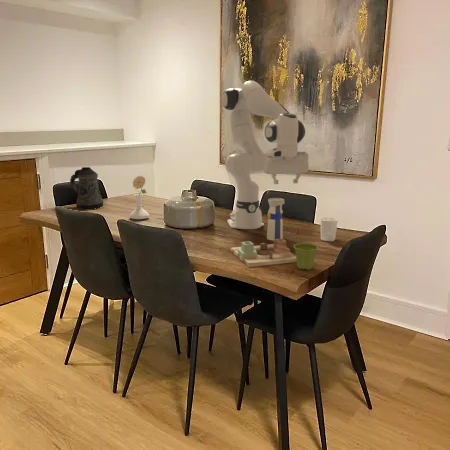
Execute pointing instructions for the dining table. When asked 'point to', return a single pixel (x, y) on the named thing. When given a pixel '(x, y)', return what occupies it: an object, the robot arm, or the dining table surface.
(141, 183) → the flower in vase
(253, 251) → the pale green pipe fitting
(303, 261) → the plant pot
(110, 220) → the dining table surface
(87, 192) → the beer stein
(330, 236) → the white cup
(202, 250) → the dining table surface
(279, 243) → the plate
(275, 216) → the water bottle
